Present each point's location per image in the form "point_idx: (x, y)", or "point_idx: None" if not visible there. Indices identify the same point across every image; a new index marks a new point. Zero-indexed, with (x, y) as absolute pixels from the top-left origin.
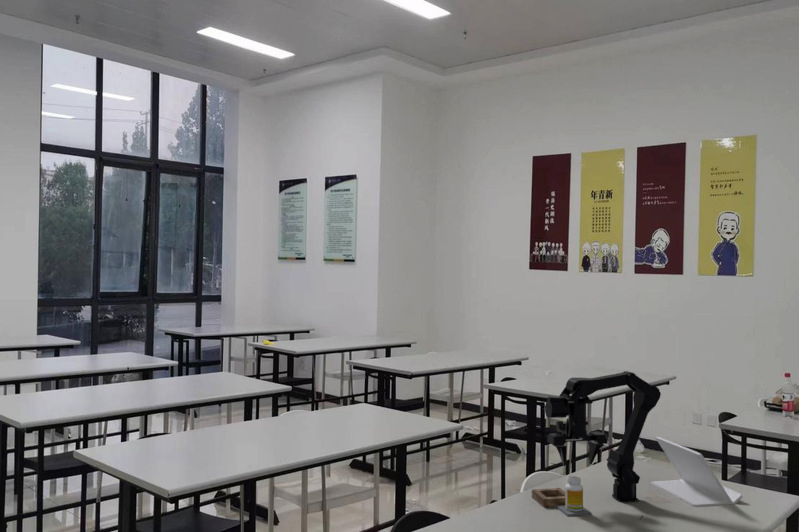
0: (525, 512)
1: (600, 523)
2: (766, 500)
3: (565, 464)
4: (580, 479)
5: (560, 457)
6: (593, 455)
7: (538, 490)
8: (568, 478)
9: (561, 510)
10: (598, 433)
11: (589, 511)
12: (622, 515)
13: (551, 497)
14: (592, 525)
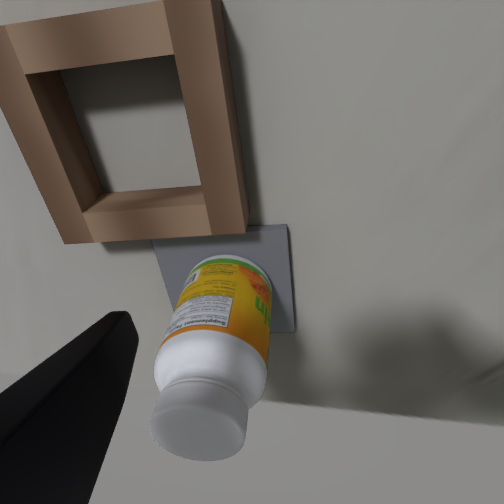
0: (4, 274)
1: (290, 391)
2: None
3: (133, 358)
4: (238, 449)
5: (19, 381)
6: None
7: (21, 63)
8: (152, 435)
9: (167, 284)
10: None
11: (291, 319)
12: (430, 344)
13: (112, 221)
14: None
